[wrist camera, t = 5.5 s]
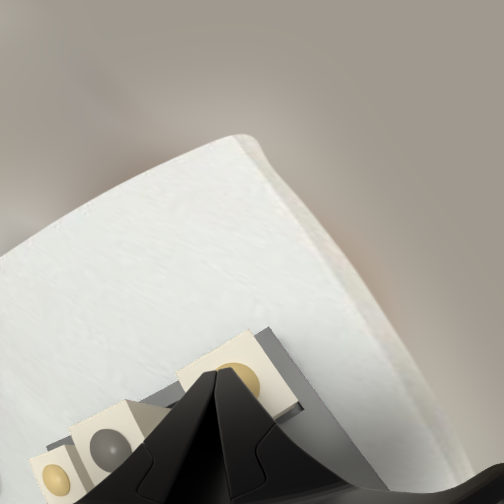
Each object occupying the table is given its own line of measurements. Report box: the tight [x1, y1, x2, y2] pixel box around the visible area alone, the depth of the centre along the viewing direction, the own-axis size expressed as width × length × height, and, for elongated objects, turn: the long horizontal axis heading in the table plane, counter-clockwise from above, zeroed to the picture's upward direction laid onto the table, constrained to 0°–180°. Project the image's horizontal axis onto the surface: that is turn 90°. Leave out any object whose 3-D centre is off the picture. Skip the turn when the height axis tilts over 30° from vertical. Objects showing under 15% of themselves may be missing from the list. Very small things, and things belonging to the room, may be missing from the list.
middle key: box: [68, 399, 171, 486], centre depth 11 cm, size 3×3×6 cm
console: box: [46, 327, 390, 491], centre depth 14 cm, size 12×17×3 cm
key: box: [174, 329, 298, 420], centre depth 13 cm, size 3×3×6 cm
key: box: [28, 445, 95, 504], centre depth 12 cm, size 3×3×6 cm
